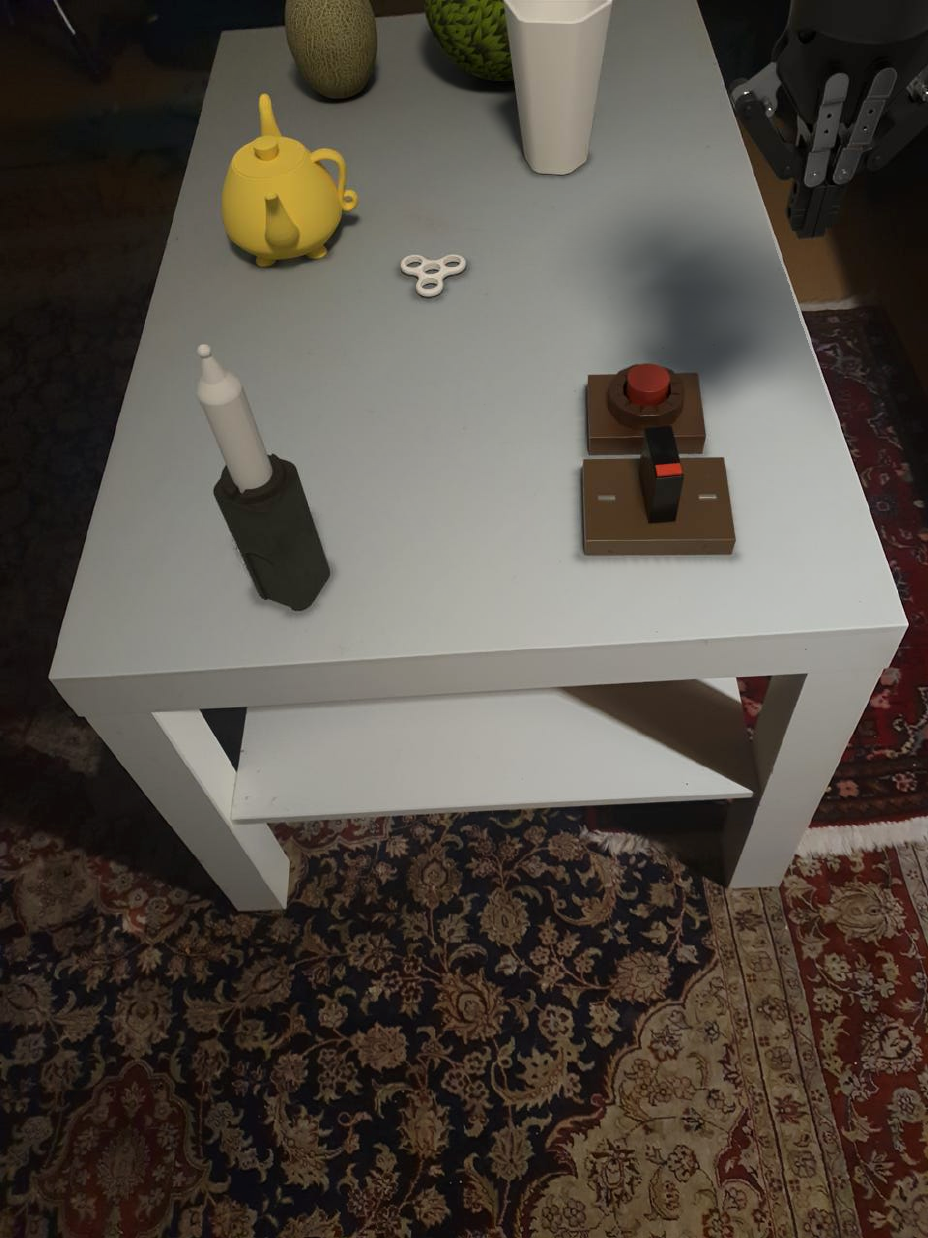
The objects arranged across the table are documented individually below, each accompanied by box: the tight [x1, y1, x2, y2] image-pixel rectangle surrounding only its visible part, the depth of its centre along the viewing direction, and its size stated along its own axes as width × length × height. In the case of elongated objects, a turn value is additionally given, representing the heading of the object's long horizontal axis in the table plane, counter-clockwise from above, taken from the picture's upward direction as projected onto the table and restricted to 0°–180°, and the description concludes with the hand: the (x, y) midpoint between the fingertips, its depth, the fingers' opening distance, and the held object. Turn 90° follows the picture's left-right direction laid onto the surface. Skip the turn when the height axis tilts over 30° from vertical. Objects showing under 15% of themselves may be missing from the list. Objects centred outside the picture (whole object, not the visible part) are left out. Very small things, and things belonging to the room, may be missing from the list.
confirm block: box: [586, 363, 707, 456], centre depth 83 cm, size 10×8×4 cm
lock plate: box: [581, 456, 737, 556], centre depth 77 cm, size 12×9×2 cm
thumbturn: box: [639, 426, 684, 524], centre depth 74 cm, size 6×2×6 cm, turn 3°
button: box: [626, 362, 670, 406], centre depth 80 cm, size 4×4×2 cm
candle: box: [196, 343, 331, 612], centre depth 67 cm, size 5×5×25 cm
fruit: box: [284, 0, 378, 99], centre depth 114 cm, size 11×11×15 cm
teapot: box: [221, 93, 359, 268], centre depth 98 cm, size 20×15×12 cm
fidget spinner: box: [400, 253, 467, 298], centre depth 97 cm, size 7×6×1 cm
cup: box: [503, 0, 614, 176], centre depth 101 cm, size 11×10×17 cm
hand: (806, 230), depth 58 cm, fingers closed
